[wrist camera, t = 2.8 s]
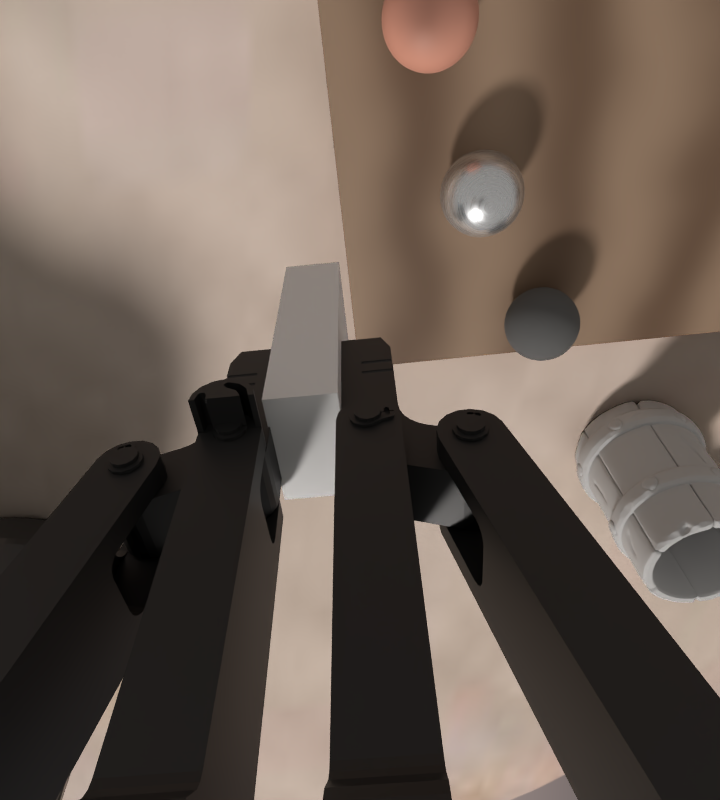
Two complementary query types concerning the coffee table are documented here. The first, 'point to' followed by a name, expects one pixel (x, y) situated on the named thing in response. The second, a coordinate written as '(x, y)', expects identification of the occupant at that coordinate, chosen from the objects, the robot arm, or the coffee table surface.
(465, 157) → the steel ball
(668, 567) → the mug
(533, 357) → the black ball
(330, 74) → the deck
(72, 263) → the coffee table surface
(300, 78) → the coffee table surface
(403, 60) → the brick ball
